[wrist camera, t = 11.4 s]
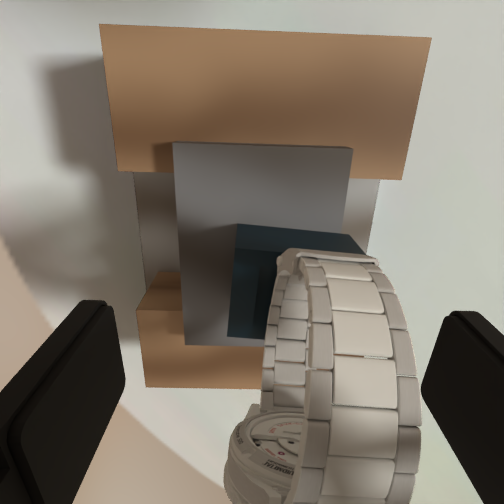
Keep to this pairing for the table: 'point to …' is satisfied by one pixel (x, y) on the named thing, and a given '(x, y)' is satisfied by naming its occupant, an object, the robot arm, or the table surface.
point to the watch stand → (246, 165)
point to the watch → (322, 374)
